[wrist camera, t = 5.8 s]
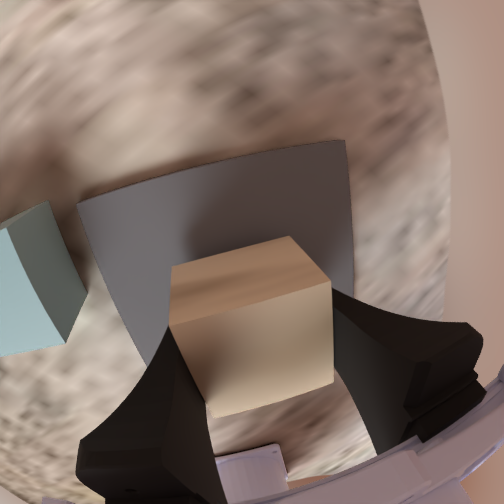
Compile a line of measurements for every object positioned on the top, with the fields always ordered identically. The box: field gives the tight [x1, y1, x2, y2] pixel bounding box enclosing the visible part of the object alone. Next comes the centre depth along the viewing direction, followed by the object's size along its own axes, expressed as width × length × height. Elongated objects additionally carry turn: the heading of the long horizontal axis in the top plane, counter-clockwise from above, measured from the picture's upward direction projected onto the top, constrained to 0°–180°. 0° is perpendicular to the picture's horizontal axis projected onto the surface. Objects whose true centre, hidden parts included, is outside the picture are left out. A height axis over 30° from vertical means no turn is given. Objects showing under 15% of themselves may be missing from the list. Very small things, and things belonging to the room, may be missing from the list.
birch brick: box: [169, 236, 334, 418], centre depth 11 cm, size 5×5×4 cm
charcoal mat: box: [76, 140, 354, 367], centre depth 14 cm, size 12×12×1 cm
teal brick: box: [0, 200, 88, 357], centre depth 10 cm, size 5×5×4 cm
